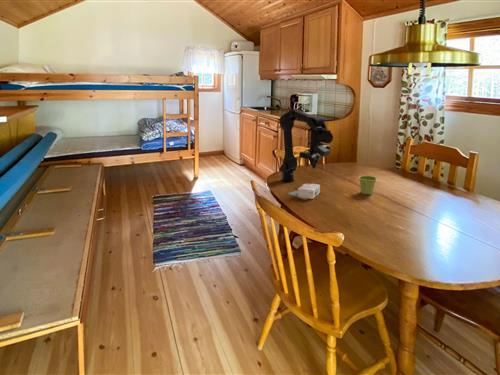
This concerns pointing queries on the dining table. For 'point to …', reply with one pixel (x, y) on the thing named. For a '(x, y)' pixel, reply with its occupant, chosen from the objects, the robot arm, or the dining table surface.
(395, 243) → the dining table surface
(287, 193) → the mat
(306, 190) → the ink box
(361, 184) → the plant pot
